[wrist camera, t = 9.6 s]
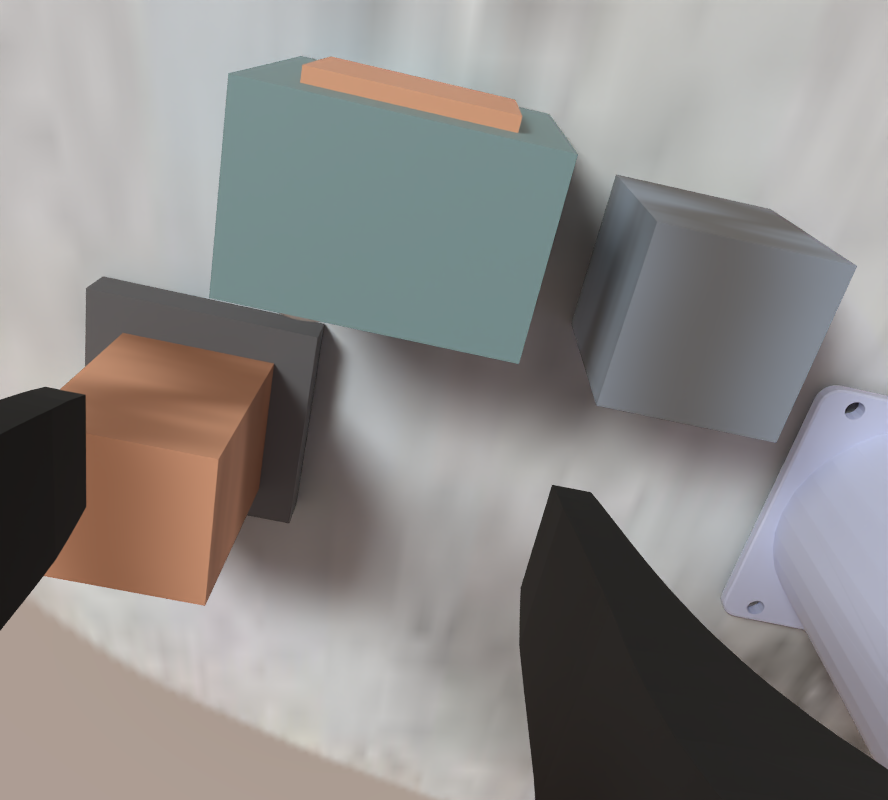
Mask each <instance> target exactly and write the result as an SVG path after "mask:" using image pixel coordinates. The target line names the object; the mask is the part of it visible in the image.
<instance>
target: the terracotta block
mask: <svg viewBox="0 0 888 800" xmlns="http://www.w3.org/2000/svg"><path fill="white" fill-rule="evenodd" d="M273 369H274V363H269V362H264V361H259V360H254V359H249V358H244V357H240V356H235V355H230V354H225V353H220V352H215V351H210V350H205V349H200V348H195V347H190V346H185V345H180V344H175V343H171V342H166V341H161V340H156V339H151V338H146V337H141V336H136V335H131V334H126V333H122V334H121V335H120V336H119V337H118V338H117V339H116V340H115V341H113V342H112V343H111V344H110V345H109V346H108V347H107V348H106V349H105V350H103V351H102V352H101V353H100V354H99V355H98V356H97V357H96V358H94V359H93V360H92V361H91V362H90V363H89V364H88V365H87V366H86V367H84V368H83V369H82V370H81V371H80V372H79V373H78V374H77V375H76V376H74V377H73V378H72V379H71V380H70V381H69V382H68V383H67V384H66V385H64V386H63V387H62V388H61V389H60V390H64V391H69V392H74V393H80V394H85V395H86V508H85V510H84V512H83V514H82V516H81V517H80V519H79V521H78V523H77V525H76V526H75V528H74V530H73V532H72V534H71V535H70V537H69V539H68V540H67V542H66V544H65V545H64V547H63V549H62V550H61V552H60V554H59V555H58V557H57V559H56V560H55V562H54V563H53V564H52V566H51V567H50V568H49V569H48V571H47V572H46V573H45V575H44V576H47V577H53V578H58V579H63V580H69V581H74V582H80V583H85V584H90V585H96V586H101V587H107V588H112V589H117V590H123V591H128V592H134V593H139V594H145V595H150V596H155V597H161V598H166V599H172V600H177V601H182V602H188V603H193V604H199V605H204V606H205V605H206V603H207V600H208V598H209V596H210V594H211V592H212V590H213V587H214V585H215V583H216V581H217V579H218V577H219V574H220V572H221V570H222V568H223V566H224V563H225V561H226V559H227V557H228V555H229V553H230V550H231V548H232V546H233V544H234V542H235V540H236V537H237V535H238V533H239V531H240V529H241V527H242V524H243V522H244V520H245V518H246V516H247V514H248V511H249V509H250V507H251V505H252V503H253V500H254V498H255V496H256V494H257V492H258V490H259V485H260V477H261V468H262V460H263V452H264V444H265V435H266V427H267V419H268V410H269V402H270V394H271V385H272V377H273Z"/></svg>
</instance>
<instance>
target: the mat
mask: <svg viewBox="0 0 888 800" xmlns="http://www.w3.org/2000/svg"><path fill="white" fill-rule="evenodd" d="M323 329H324V324H322V323H318V322H309V321H301V320H296V319H293V318H289V317H286V316H284V315H280V314H276V313H271V312H266V311H262V310H257V309H252V308H248V307H243V306H238V305H234V304H229V303H224V302H220V301H215V300H210V299H206V298H201V297H196V296H191V295H187V294H182V293H177V292H173V291H168V290H163V289H159V288H154V287H149V286H145V285H140V284H135V283H131V282H126V281H121V280H117V279H112V278H107V277H102V278H100V279H99V280H97V281H96V282H94V283H93V284H92V285H90V286H89V287H87V288H86V344H85V367H86V366H87V365H88V364H89V363H90V362H91V361H92V360H93V359H94V358H96V357H97V356H98V355H99V354H100V353H101V352H102V351H103V350H105V349H106V348H107V347H108V346H109V345H110V344H111V343H112V342H113V341H115V340H116V339H117V338H118V337H119V336H120V335H121V334H122V333H126V334H131V335H136V336H141V337H146V338H151V339H156V340H161V341H166V342H171V343H175V344H180V345H185V346H190V347H195V348H200V349H205V350H210V351H215V352H220V353H225V354H230V355H235V356H240V357H244V358H249V359H254V360H259V361H264V362H269V363H274V369H273V377H272V385H271V394H270V402H269V410H268V419H267V427H266V435H265V444H264V452H263V460H262V468H261V477H260V485H259V490H258V492H257V494H256V496H255V498H254V500H253V503H252V505H251V507H250V509H249V511H248V514H247V515H250V516H255V517H260V518H265V519H270V520H275V521H280V522H285V523H289V522H290V519H291V517H292V514H293V511H294V509H295V506H296V502H297V495H298V489H299V482H300V476H301V470H302V463H303V457H304V450H305V444H306V438H307V431H308V425H309V419H310V412H311V406H312V399H313V393H314V387H315V380H316V374H317V367H318V361H319V355H320V348H321V342H322V336H323Z"/></svg>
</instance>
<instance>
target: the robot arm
mask: <svg viewBox="0 0 888 800" xmlns="http://www.w3.org/2000/svg"><path fill="white" fill-rule="evenodd" d="M854 402H859V404H858V407H857V408H856V409H855V410H854V411H852V412H850V413H845V409H846V408H847V407H848V405H850V404H852V403H854ZM85 508H86V395H85V394H80V393H74V392H69V391H64V390H59V389H54V388H49V387H43V388H38V389H34V390H30V391H27V392H23V393H20V394H17V395H14V396H11V397H8V398H4V399H1V400H0V630H1V629H2V628H3V626H4V625H5V624H6V623H7V621H8V620H9V619H10V618H11V616H12V615H13V614H14V612H15V611H16V610H17V609H18V608H19V606H20V605H21V604H22V603H23V601H24V600H25V599H26V598H27V596H28V595H29V594H30V593H31V591H32V590H33V589H34V587H35V586H36V585H37V584H38V582H39V581H40V580H41V579H42V577H43V576H44V575H45V573H46V572H47V571H48V569H49V568H50V567H51V566H52V564H53V563H54V562H55V560H56V559H57V557H58V555H59V554H60V552H61V550H62V549H63V547H64V545H65V544H66V542H67V540H68V539H69V537H70V535H71V534H72V532H73V530H74V528H75V526H76V525H77V523H78V521H79V519H80V517H81V516H82V514H83V512H84V510H85ZM754 601H759V602H758V603H757V604H756V605H753V606H748V605H749V604H750V603H751V602H754ZM721 602H722V605H723V607H724V610H725V611H726V612H727V613H728V614H730V615H733V616H737V617H743V618H748V619H753V620H758V621H763V622H768V623H773V624H778V625H783V626H788V627H793V628H798V629H803V630H805V631H806V633H807V635H808V637H809V638H810V640H811V642H812V644H813V646H814V648H815V650H816V652H817V653H818V655H819V657H820V659H821V661H822V663H823V665H824V667H825V668H826V670H827V672H828V674H829V676H830V678H831V680H832V682H833V683H834V685H835V687H836V689H837V691H838V693H839V695H840V697H841V699H842V700H843V702H844V704H845V706H846V708H847V710H848V712H849V714H850V715H851V717H852V719H853V721H854V723H855V725H856V727H857V729H858V730H859V732H860V734H861V736H862V738H863V740H864V742H865V744H866V745H867V747H868V749H869V751H870V753H871V755H872V757H873V759H874V760H873V759H872V758H870V757H869V756H867V755H866V754H864V753H863V752H861V751H860V750H858V749H857V748H855V747H854V746H852V745H851V744H849V743H848V742H846V741H844V740H843V739H842V738H840V737H839V736H837V735H836V734H834V733H833V732H832V731H830V730H829V729H827V728H826V727H825V726H823V725H822V724H820V723H819V722H818V721H816V720H815V719H813V718H812V717H811V716H809V715H808V714H807V713H805V712H804V711H803V710H802V709H800V708H799V707H798V706H796V705H795V704H794V703H793V702H791V701H790V700H789V699H787V698H786V697H785V696H784V695H782V694H781V693H780V692H778V691H777V690H776V689H775V688H773V687H772V686H771V685H769V684H768V683H767V682H766V681H765V680H763V679H762V678H761V677H760V676H759V675H757V674H756V673H755V672H754V671H753V670H751V669H750V668H749V667H748V666H747V665H746V664H745V663H744V662H743V661H741V660H740V659H739V658H738V657H737V656H736V655H735V654H734V653H733V652H732V651H730V650H729V649H728V648H727V647H726V646H725V645H724V644H723V643H722V642H721V641H719V640H718V639H717V638H716V637H715V636H714V635H713V634H712V633H711V632H710V631H709V630H708V629H707V628H706V627H705V626H704V625H703V624H702V623H701V622H700V621H699V620H698V619H697V618H696V617H695V616H694V615H693V614H692V613H691V612H690V611H689V609H688V608H687V607H686V606H685V605H684V604H683V603H682V602H681V601H680V600H679V599H678V598H677V597H676V596H675V595H674V593H673V592H672V591H671V590H670V589H669V588H668V587H667V586H666V584H665V583H664V582H663V581H662V580H661V579H660V578H659V576H658V575H657V574H656V573H655V572H654V570H653V569H652V568H651V567H650V566H649V565H648V563H647V562H646V561H645V560H644V558H643V557H642V556H641V555H640V554H639V552H638V551H637V550H636V549H635V547H634V546H633V545H632V544H631V542H630V541H629V540H628V539H627V537H626V536H625V535H624V533H623V532H622V531H621V530H620V528H619V527H618V526H617V524H616V523H615V522H614V521H613V519H612V518H611V517H610V515H609V514H608V513H607V512H606V510H605V509H604V508H603V506H602V505H601V504H600V503H599V501H598V500H597V499H596V498H595V497H594V496H593V494H592V493H591V492H586V491H581V490H576V489H571V488H566V487H560V486H555V485H552V487H551V491H550V494H549V497H548V500H547V504H546V507H545V510H544V513H543V517H542V520H541V523H540V527H539V530H538V533H537V536H536V540H535V543H534V546H533V550H532V553H531V556H530V559H529V563H528V566H527V569H526V573H525V576H524V579H523V582H522V586H521V596H520V637H519V646H520V657H521V666H522V676H523V685H524V694H525V703H526V712H527V721H528V730H529V739H530V748H531V756H532V765H533V774H534V787H535V800H888V396H887V395H882V394H878V393H873V392H868V391H864V390H859V389H855V388H850V387H845V386H841V385H832V386H828V387H825V388H824V389H823V390H821V391H820V392H819V393H818V394H817V396H816V397H815V399H814V401H813V403H812V405H811V407H810V409H809V411H808V413H807V415H806V418H805V420H804V422H803V424H802V426H801V428H800V430H799V432H798V434H797V437H796V439H795V441H794V443H793V445H792V447H791V449H790V451H789V453H788V455H787V458H786V460H785V462H784V464H783V466H782V468H781V470H780V472H779V474H778V477H777V479H776V481H775V483H774V485H773V487H772V489H771V491H770V493H769V495H768V498H767V500H766V502H765V504H764V506H763V508H762V510H761V512H760V514H759V517H758V519H757V521H756V523H755V525H754V527H753V529H752V531H751V533H750V535H749V538H748V540H747V542H746V544H745V546H744V548H743V550H742V552H741V554H740V557H739V559H738V561H737V563H736V565H735V567H734V569H733V571H732V573H731V575H730V578H729V580H728V582H727V584H726V586H725V588H724V590H723V592H722V595H721Z"/></svg>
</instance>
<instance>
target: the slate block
mask: <svg viewBox="0 0 888 800" xmlns="http://www.w3.org/2000/svg"><path fill="white" fill-rule="evenodd" d="M856 267H857V266H856V265H855V264H853V263H852V262H850V261H849V260H847V259H846V258H844V257H842V256H841V255H839V254H838V253H836V252H835V251H833V250H832V249H830V248H829V247H827V246H826V245H824V244H823V243H821V242H820V241H818V240H817V239H815V238H814V237H812V236H811V235H809V234H808V233H806V232H805V231H803V230H802V229H800V228H798V227H797V226H795V225H794V224H792V223H791V222H789V221H788V220H786V219H785V218H783V217H782V216H780V215H779V214H777V213H776V212H774V211H773V210H771V209H767V208H763V207H758V206H754V205H749V204H745V203H740V202H736V201H731V200H727V199H723V198H718V197H714V196H709V195H705V194H700V193H696V192H691V191H687V190H683V189H678V188H674V187H669V186H665V185H660V184H656V183H651V182H647V181H642V180H638V179H634V178H629V177H625V176H620V175H616V177H615V180H614V183H613V187H612V190H611V193H610V197H609V200H608V203H607V207H606V210H605V213H604V217H603V220H602V223H601V227H600V230H599V233H598V237H597V240H596V243H595V247H594V250H593V253H592V257H591V260H590V263H589V267H588V270H587V273H586V277H585V280H584V283H583V287H582V290H581V293H580V297H579V300H578V303H577V307H576V310H575V313H574V317H573V320H572V323H571V324H572V327H573V330H574V334H575V337H576V340H577V344H578V347H579V350H580V353H581V357H582V360H583V363H584V366H585V370H586V373H587V376H588V380H589V383H590V386H591V389H592V393H593V396H594V399H595V403H596V406H601V407H606V408H611V409H616V410H620V411H625V412H630V413H635V414H640V415H644V416H649V417H654V418H659V419H664V420H669V421H673V422H678V423H683V424H688V425H693V426H697V427H702V428H707V429H712V430H717V431H722V432H726V433H731V434H736V435H741V436H746V437H750V438H755V439H760V440H765V441H770V442H775V443H776V442H777V440H778V438H779V436H780V434H781V431H782V429H783V427H784V425H785V423H786V421H787V418H788V416H789V414H790V412H791V410H792V407H793V405H794V403H795V401H796V399H797V396H798V394H799V392H800V390H801V388H802V385H803V383H804V381H805V379H806V377H807V375H808V372H809V370H810V368H811V366H812V364H813V361H814V359H815V357H816V355H817V353H818V350H819V348H820V346H821V344H822V342H823V339H824V337H825V335H826V333H827V331H828V329H829V326H830V324H831V322H832V320H833V318H834V315H835V313H836V311H837V309H838V307H839V304H840V302H841V300H842V298H843V296H844V293H845V291H846V289H847V287H848V285H849V283H850V280H851V278H852V276H853V274H854V272H855V269H856Z"/></svg>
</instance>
